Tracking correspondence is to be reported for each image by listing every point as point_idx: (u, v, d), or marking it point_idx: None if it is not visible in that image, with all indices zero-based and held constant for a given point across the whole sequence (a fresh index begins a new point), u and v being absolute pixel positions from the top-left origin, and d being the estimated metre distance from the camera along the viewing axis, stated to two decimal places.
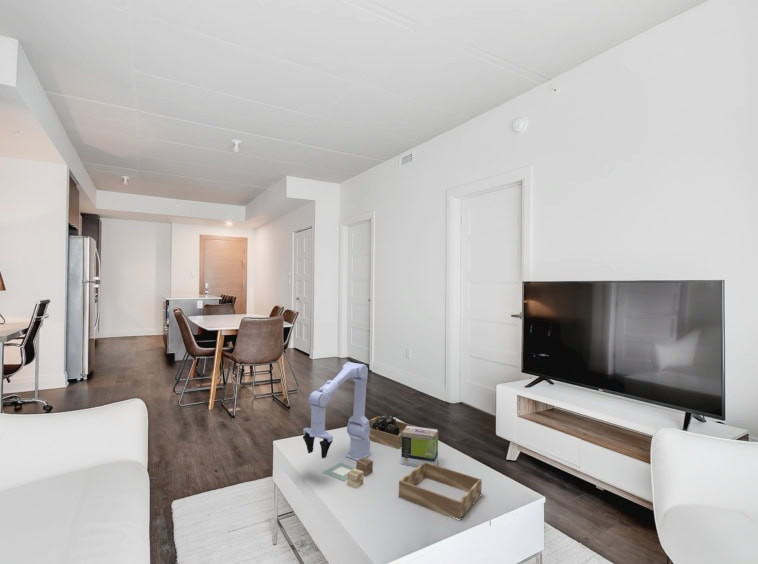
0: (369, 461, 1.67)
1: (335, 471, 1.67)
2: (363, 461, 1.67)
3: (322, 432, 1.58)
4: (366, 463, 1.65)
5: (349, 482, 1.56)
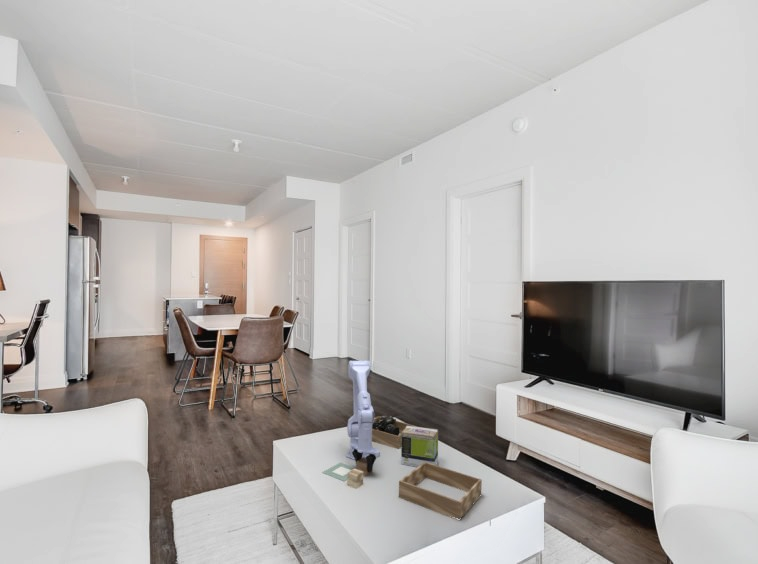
0: None
1: (335, 471, 1.67)
2: (363, 460, 1.67)
3: (369, 448, 1.65)
4: (366, 463, 1.65)
5: (349, 482, 1.56)
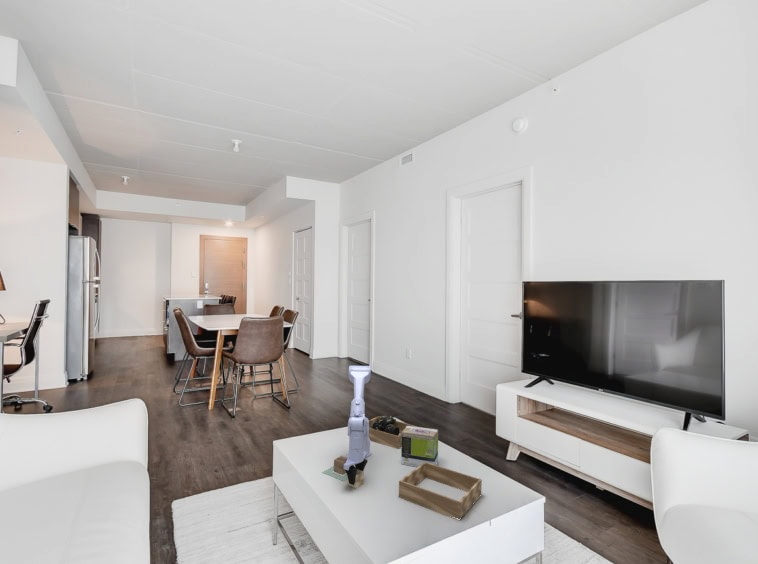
0: (346, 459, 1.67)
1: None
2: (341, 459, 1.67)
3: (351, 458, 1.55)
4: (343, 461, 1.65)
5: None
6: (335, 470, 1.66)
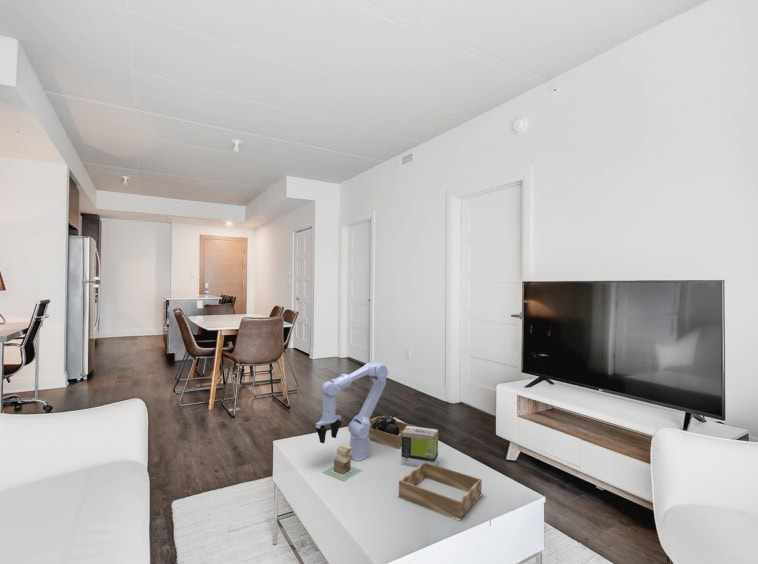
0: None
1: None
2: None
3: (324, 419, 1.73)
4: None
5: (338, 457, 1.66)
6: (335, 470, 1.66)
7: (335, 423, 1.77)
